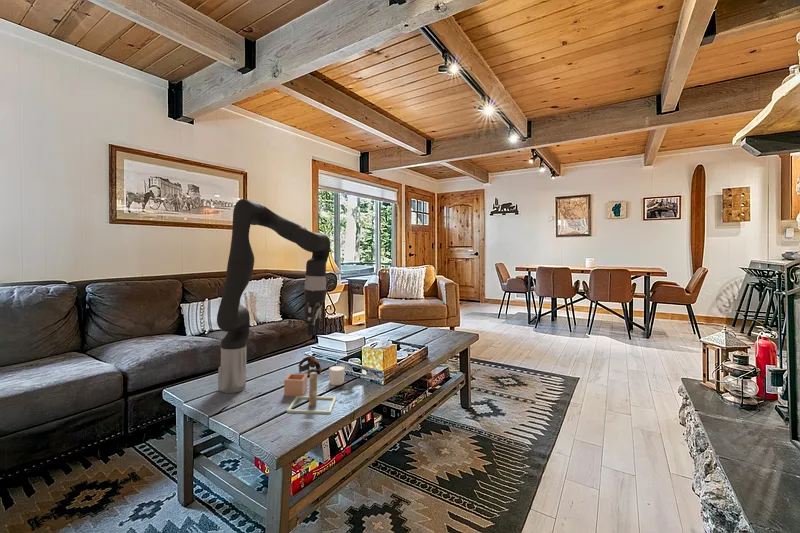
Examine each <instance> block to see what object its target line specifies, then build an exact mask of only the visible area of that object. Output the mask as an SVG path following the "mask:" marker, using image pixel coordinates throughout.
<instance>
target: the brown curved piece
mask: <svg viewBox="0 0 800 533" xmlns="http://www.w3.org/2000/svg"><path fill="white" fill-rule="evenodd" d="M305 362H307V363H306V364H304V363H305ZM303 364H304V365H303ZM297 367H298V372H299V373H302V372H306V371H311V370H310V368H313V369H314V368H315V369H318V370H317V371H318V372H319V374H321V373H322V368H321V364H320V362H319V360H317V359H316V357H315V356H314V355H311V356H310V355H309V356H306V357H304V358H303V359H301V360H300V361H299V364H298V365H297Z"/></svg>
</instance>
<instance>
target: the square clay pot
mask: <svg viewBox="0 0 800 533" xmlns="http://www.w3.org/2000/svg"><path fill="white" fill-rule="evenodd" d="M308 376H309V374H308V373H292V372H291V373H289V374H288V375H287V376H286V378H284V384H283V385H284V386H283V387H284V389H283V390H284V391H283V392H284V393H283V395H284V397H296V396H305V394H306V392H307V390H308Z"/></svg>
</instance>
